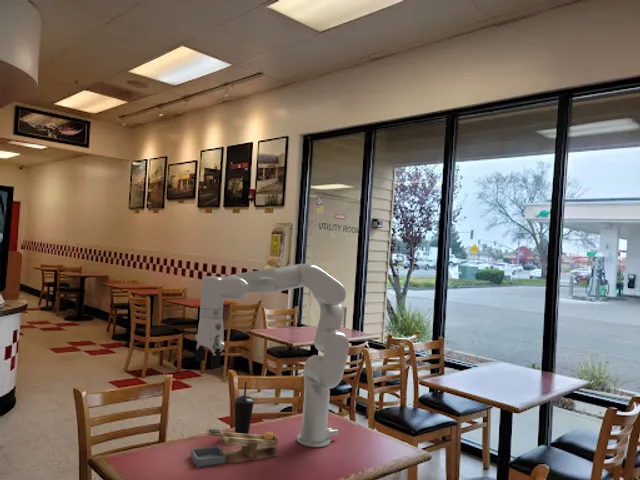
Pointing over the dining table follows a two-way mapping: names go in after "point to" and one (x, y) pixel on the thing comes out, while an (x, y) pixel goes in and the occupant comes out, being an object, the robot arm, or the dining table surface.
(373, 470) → the dining table surface
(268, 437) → the ball
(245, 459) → the catapult base
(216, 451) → the tray
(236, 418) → the drinking cup
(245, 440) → the lever
